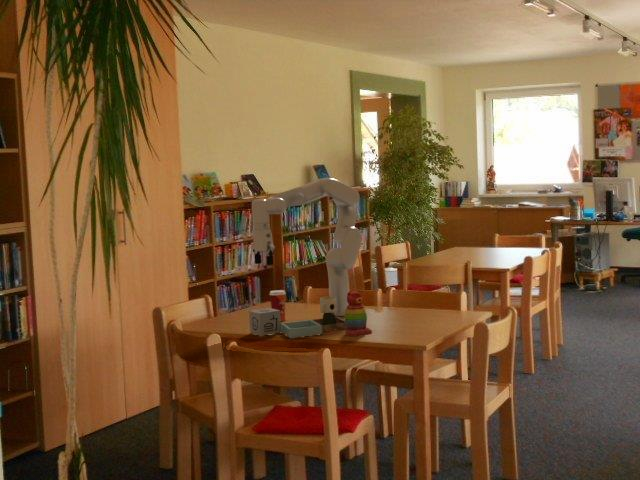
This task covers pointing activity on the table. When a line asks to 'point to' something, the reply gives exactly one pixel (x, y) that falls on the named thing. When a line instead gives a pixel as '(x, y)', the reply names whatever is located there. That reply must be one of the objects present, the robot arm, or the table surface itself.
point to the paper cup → (278, 302)
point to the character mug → (328, 310)
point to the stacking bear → (356, 315)
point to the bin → (301, 328)
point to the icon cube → (265, 321)
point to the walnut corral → (340, 324)
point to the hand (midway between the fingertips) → (264, 264)
